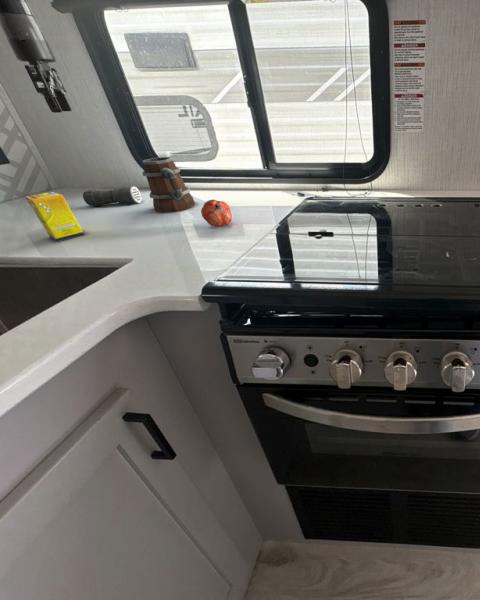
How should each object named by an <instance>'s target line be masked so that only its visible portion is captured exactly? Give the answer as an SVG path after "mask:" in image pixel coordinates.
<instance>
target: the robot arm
mask: <svg viewBox="0 0 480 600" xmlns="http://www.w3.org/2000/svg"><path fill="white" fill-rule="evenodd" d="M0 29H1V31H2V33H3V35H4V37H5V39H6V40H7V42H8V44H9V46H10V48H11V50H12V52H13V54H14V56H15V58H16V59H17V61H20V62H23V63H28V64H24V68H25V70H26V73H27V75H28V76H29V79H30V80H31V83H32V84H33V86H34V89H35V91H36V92H37V94H40V96H42V97H43V98H44V100H45V102H46V104H47V106H48V108H49V111H51V113H54V114H55V113H59V114H60V113H63V112H72V107H71V105H70V103H69V101H68V99H67V96H66V95H67V94H68V93H67V90H66V87H65V86H64V84H63V82H62V80H61V78H60V76H59V73H58V72H57V71H58V70H57V69H56V68H55V67H51V66H50V65H49V63H56V61H57V60H56V57H55V55H54V53H53V51H52V48H51V47H50V44H49V42H48V40H47V38H46V36H45V33H44V31H43V29H42V27H41V26H40V23H38V21H37V19H36V17H35V14H34V13H33V11H32V8H31V6H30V4H29V2H28V0H0Z"/></svg>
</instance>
